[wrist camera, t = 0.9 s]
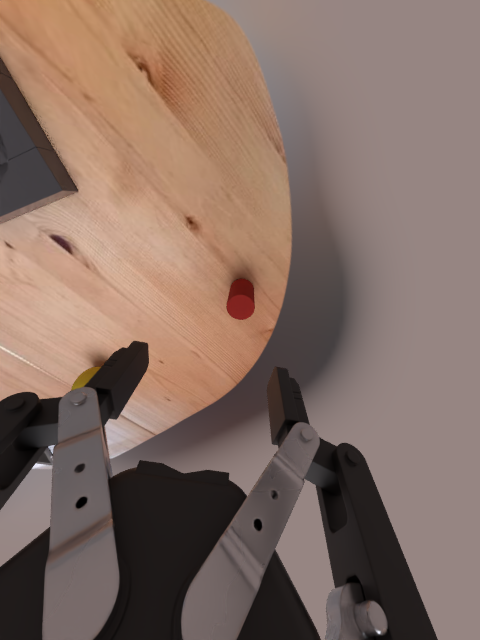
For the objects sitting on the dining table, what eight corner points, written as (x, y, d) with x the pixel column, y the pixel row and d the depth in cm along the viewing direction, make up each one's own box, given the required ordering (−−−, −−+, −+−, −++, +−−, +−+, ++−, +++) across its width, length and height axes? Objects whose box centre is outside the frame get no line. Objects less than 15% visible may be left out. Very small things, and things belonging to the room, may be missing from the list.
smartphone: (57, 463, 62) (55, 466, 62) (29, 459, 62) (27, 462, 61) (41, 436, 55) (39, 439, 54) (9, 432, 54) (7, 434, 53)
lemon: (120, 381, 42) (95, 416, 36) (92, 374, 42) (61, 408, 35) (121, 362, 40) (94, 396, 33) (92, 354, 39) (58, 387, 32)
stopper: (227, 282, 30) (222, 298, 25) (250, 275, 30) (250, 291, 25) (234, 302, 32) (231, 322, 27) (256, 297, 31) (257, 316, 26)
